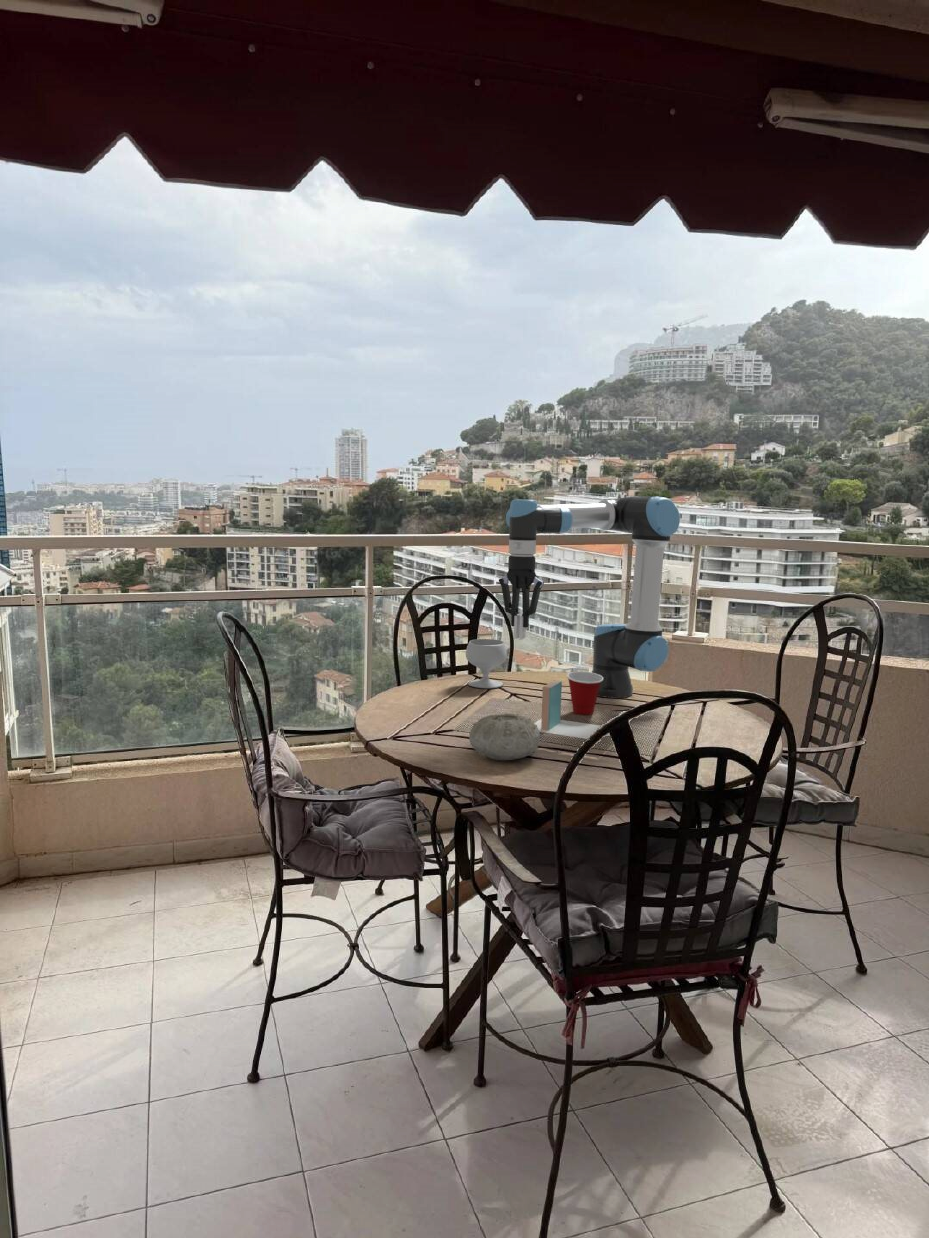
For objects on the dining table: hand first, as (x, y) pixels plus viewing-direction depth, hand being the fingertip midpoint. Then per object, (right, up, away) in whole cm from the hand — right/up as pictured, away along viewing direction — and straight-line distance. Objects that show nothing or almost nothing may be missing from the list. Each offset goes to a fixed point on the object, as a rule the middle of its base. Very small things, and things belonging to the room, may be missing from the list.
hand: (519, 638), depth 231 cm
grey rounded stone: (-6, -29, -26) cm, 39 cm away
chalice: (-8, -17, +47) cm, 51 cm away
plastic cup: (+20, -23, +13) cm, 33 cm away
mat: (+13, -26, -4) cm, 29 cm away
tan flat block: (+9, -25, -2) cm, 26 cm away
